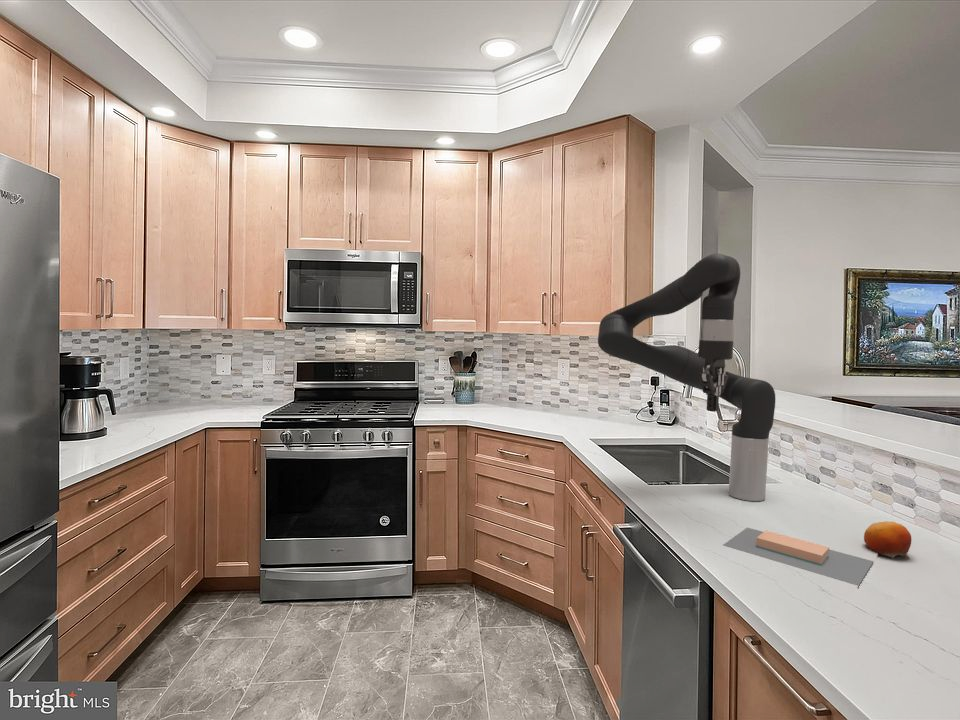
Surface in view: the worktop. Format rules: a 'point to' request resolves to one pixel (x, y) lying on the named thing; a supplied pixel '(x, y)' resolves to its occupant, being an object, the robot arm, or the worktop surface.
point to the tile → (793, 547)
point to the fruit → (888, 539)
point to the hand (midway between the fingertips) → (712, 410)
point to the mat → (834, 566)
